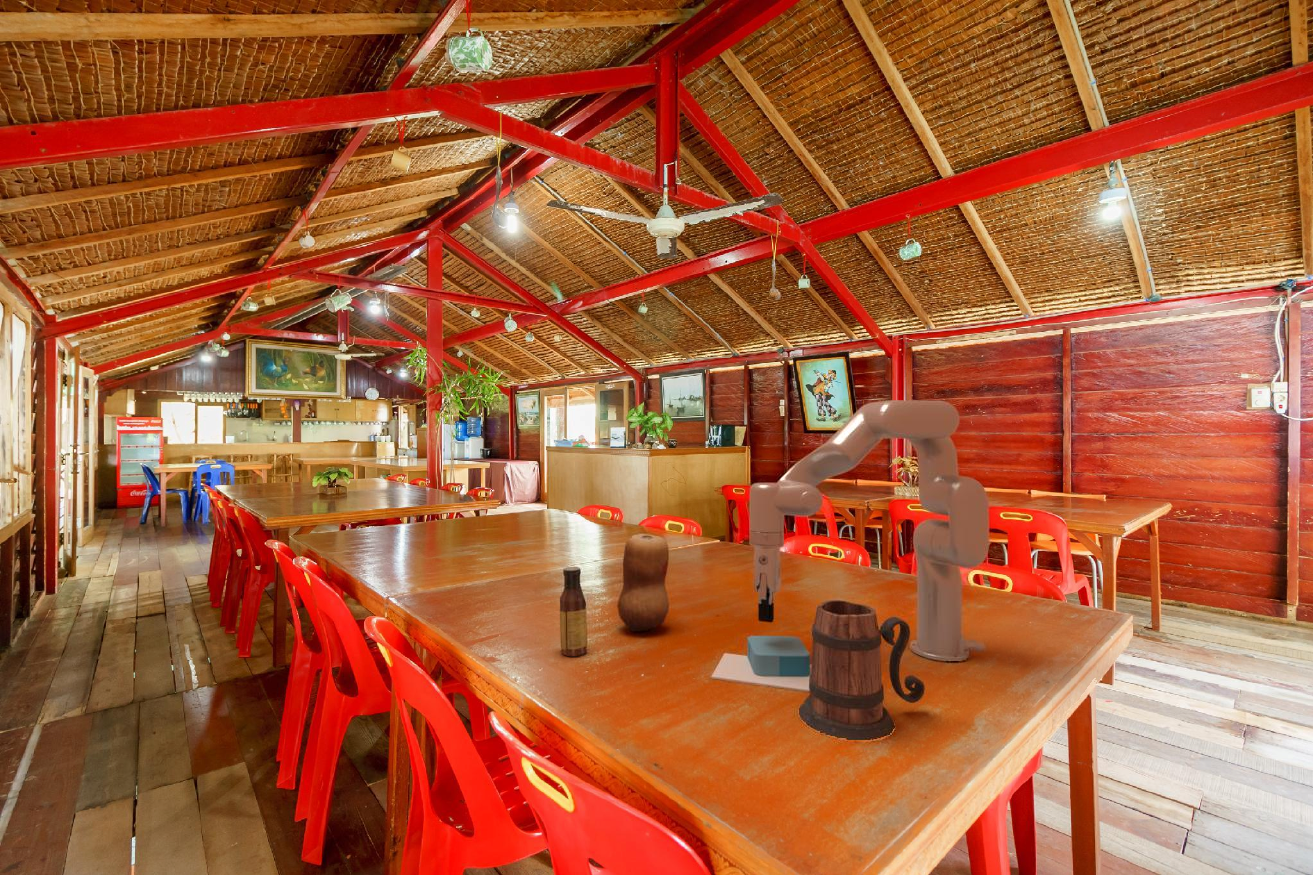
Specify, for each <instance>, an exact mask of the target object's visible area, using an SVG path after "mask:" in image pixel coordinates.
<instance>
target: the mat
mask: <svg viewBox="0 0 1313 875" xmlns="http://www.w3.org/2000/svg"><path fill="white" fill-rule="evenodd" d="M811 668H812V663H810V674H809V675H808V676H759V675H756V674H755V673H754V672H753V669H752V667H751V664H750V662H749V659H748V656H747V655H741V654H734V653H727V652H724V654H723V655H722V657H721V659H720V661H719V662H718V664H717V666H716V668H715V670H714V671H713V673H712V675H711V679H713V680H720V681H727V682H732V683H733V682H734V683H735V682H736V683H741V684H748V685H749V684H750V685H756V686H763V687H768V686H769V687H770V688H775V689H776V688H777V689H782V688H783V689H784V690H791V691H797V692H798V691H799V692H803V693H805V692H806V693H810V690H809V678H810V675H811Z"/></svg>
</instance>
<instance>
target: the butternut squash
mask: <svg viewBox="0 0 1313 875" xmlns="http://www.w3.org/2000/svg"><path fill="white" fill-rule="evenodd" d="M669 552H670V551H669V546H668V542H667V540H666V539H665V538H663V537H661V536H657V535H653V534H647V533H639V534H634V535H632V536H630V537H629V538H628V539H627V541H626V543H625V545H624V552H623V559H622V571H623V572H622V574H623V575H622V579H623V581H622V582H623V583H622V584H623V585H622V590H621V592H620V594H619V597H618V601H617V605H616V607H617V611H618V617H619V618H620V620H621V621H622V622H623V623H624V625H625V626H626V627H627V628H629V629H630V630H632V631H633V632H647V631H652V630H654V629H656V627H658V626H660V625H661V624H663V623H664V621H665V620H666V618H667V615H668V613H669V608H670V607H669V606H670V603H669V602H670V601H669V597H668V592H667V589H666V577H667V571H668V567H669V559H670V555H669Z"/></svg>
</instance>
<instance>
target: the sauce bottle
mask: <svg viewBox="0 0 1313 875" xmlns="http://www.w3.org/2000/svg"><path fill="white" fill-rule="evenodd" d="M562 571H563V572H562V575H563V576H564V577H563V578H564V579H563V580H564V584H563V586H564V588H563V590H562V593H561V595H560V598H559V628H560V629H559V632H560V633H559V637H560V638H559V639H560V648H561V650H560V651H561V654H562V655H565V656H567V657H580V656H583V655H584V654H586V653H587V648H588V647H587V646H588V622H587V621H588V618H587V617H588V616H587V615H588V614H587V602H586V599H585V595H584V593H583V589H582V586H581V568H580V567H579V566H567V567H564V568H563V570H562Z"/></svg>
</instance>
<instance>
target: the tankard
mask: <svg viewBox="0 0 1313 875" xmlns="http://www.w3.org/2000/svg"><path fill="white" fill-rule="evenodd" d="M897 625H899V633H898V637H897V638H896V641H895V640H894V639H895V629H894V628H895V627H896V626H897ZM910 636H911V629H910V626H909V624H908V622H906V621H905V620H903V619H902V618H899V617H897V616H891V617H888V618H886V620H884V622H883V623H882V624H881V625H880V626H879V623H878V618H877V611H876V610H875V609H874V608H872V607H871V606H868V605H865V604H861V603H854V602H850V601H846V600H839V599H837V600H835V599H834V600H833V599H832V600H826V601H823V602H822V603H820V604H818V605H817V607H816V612H815V618H814V623H813V624H812V626H811V637H812V648H811V651H812V653H811V664H812V668H811V675H810V678H809V690H810V691H809V695H808V696H807V697H806V698H805V700H804V701H803V703H802V704H800V705H799V707H800V708H799V707H798V709H799V715H800V717H801V719H802V720H803V721H804V722H806V724H807V725H808V726H810V727H811V728H813V729H815V730H817V731H820V733H825V734H826V735H830V736H835V737H837V738H846V739H847V740H871V739H872V740H873V739H877V738H881V737H884V736H887V735H890V733H892V731H893V729H894V728H895V725H896V724H895V725H894V722H895V721H894V719H893V718H892V717H891V716H890V713H889V712H888V710H887V709H886V707H885V706H884V704H883V701H884V699H885V693H884V692H885V690H884V684H883V683H882V661H881V660H882V658H881V644H882V639H883V640H884V641H885V642H886V643H887V644H889V645H891V646H893V647H892V650H891V652H890V657H889V665H888V667H889V668H888V670H889V671H888V672H889V678H890V682H891V687H892V689H893V691H894V692H895V693H896V694H897V696H898V697H900V699H902V700H903V701H905V702H907V703H911V704H914V703H917V702H918V701H920V700H921V699H922V698H923V696H924V695H925V684H924V682H923V681H922V680H921V679H919V678H918V677H916V676H915V675H907V676H906V677H905V678H904V684H903V685H904V687H905V688H906V690H908V692H909V693H905V692H904V690H903V688H902V684H901V678H900V665H901V659H902V656H903V653H904V652H905V650H906V647H907V645H908V644H909V640H910ZM892 719H893V720H892ZM893 721H894V722H893Z"/></svg>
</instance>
